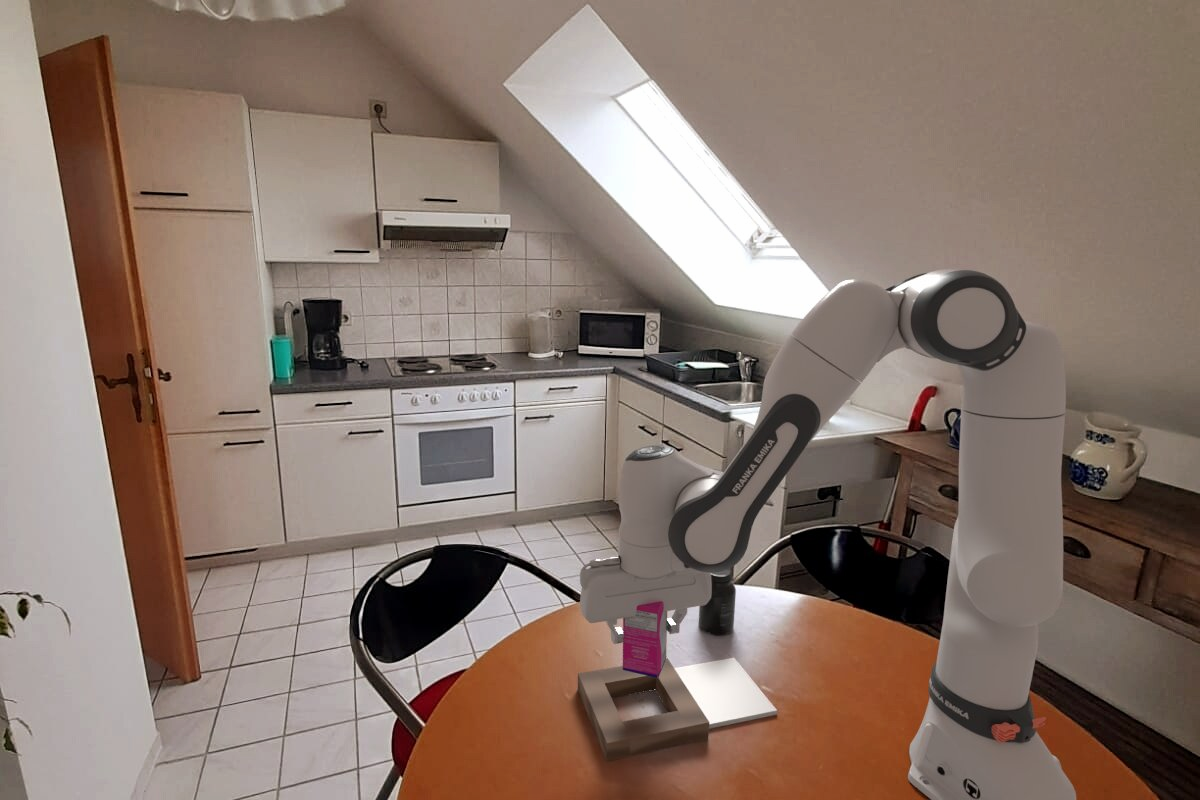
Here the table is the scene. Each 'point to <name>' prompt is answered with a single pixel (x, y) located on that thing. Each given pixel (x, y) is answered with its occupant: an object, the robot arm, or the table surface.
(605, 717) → the walnut holder
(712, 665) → the white rectangular plate
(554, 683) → the table surface
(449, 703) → the table surface
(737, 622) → the table surface
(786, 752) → the table surface
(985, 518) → the robot arm
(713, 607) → the supplement bottle
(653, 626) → the supplement box
